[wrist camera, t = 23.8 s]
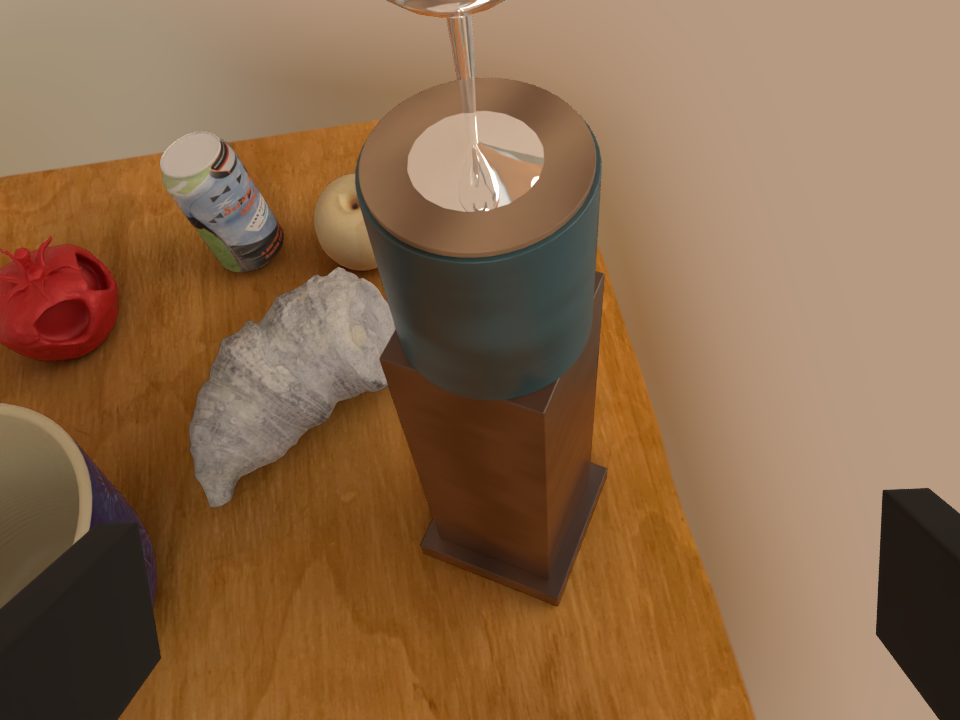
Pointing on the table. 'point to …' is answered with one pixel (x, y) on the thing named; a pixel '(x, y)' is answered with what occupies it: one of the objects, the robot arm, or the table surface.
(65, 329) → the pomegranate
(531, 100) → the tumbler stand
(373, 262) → the apple
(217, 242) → the beverage can
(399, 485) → the table surface
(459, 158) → the wineglass
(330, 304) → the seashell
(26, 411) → the planter
